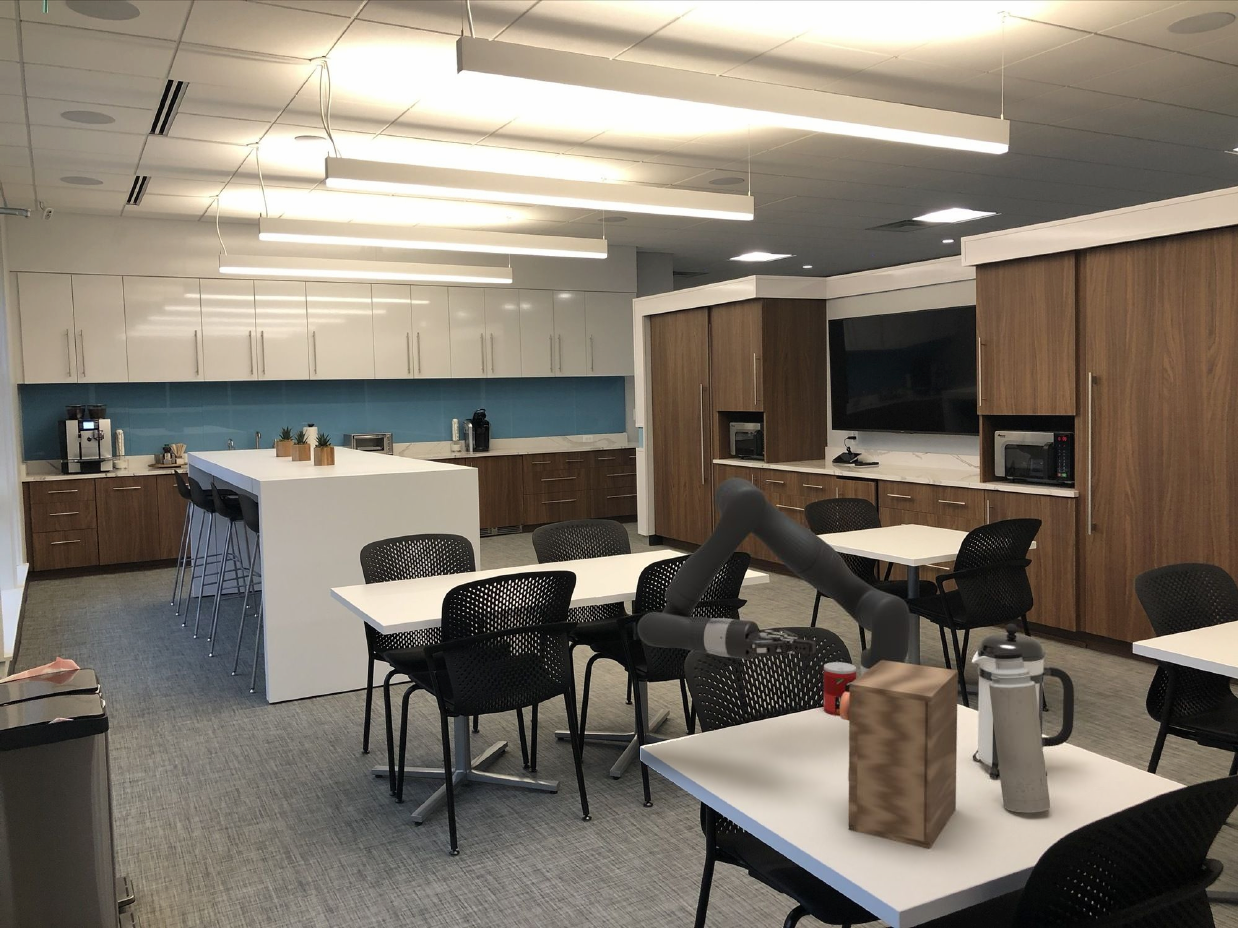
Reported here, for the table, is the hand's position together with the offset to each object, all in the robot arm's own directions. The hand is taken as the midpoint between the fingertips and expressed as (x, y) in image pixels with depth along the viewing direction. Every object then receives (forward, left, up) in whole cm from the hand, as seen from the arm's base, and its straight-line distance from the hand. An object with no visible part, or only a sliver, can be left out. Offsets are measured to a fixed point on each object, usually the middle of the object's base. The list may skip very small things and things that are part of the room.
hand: (814, 647), depth 184 cm
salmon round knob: (+14, +2, -12) cm, 18 cm away
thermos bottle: (+30, +24, -28) cm, 47 cm away
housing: (+18, +3, -28) cm, 34 cm away
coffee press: (+17, +41, -28) cm, 53 cm away
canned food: (-29, +42, -28) cm, 58 cm away
